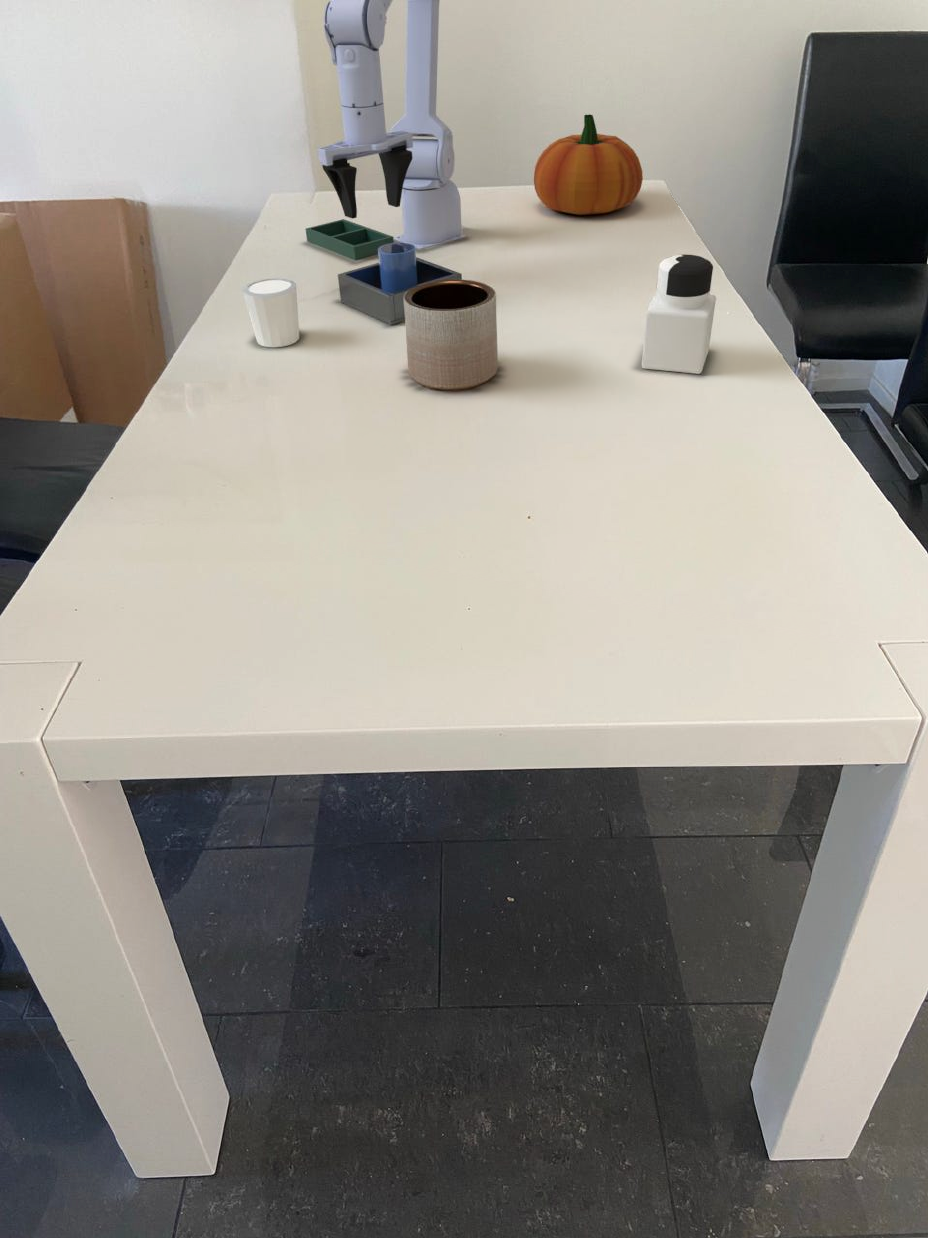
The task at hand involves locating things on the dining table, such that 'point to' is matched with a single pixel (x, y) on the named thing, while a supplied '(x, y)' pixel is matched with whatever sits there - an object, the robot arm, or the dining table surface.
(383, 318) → the dark gray square tray
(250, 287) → the white jar candle
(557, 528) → the dining table surface
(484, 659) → the dining table surface
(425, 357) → the planter
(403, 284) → the cup
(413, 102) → the robot arm
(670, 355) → the medicine bottle
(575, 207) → the pumpkin
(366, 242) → the divided tray
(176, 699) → the dining table surface
